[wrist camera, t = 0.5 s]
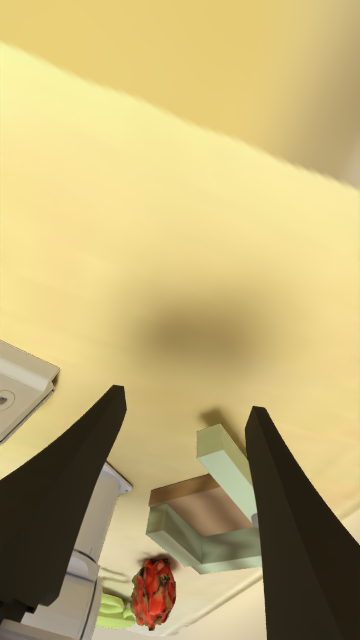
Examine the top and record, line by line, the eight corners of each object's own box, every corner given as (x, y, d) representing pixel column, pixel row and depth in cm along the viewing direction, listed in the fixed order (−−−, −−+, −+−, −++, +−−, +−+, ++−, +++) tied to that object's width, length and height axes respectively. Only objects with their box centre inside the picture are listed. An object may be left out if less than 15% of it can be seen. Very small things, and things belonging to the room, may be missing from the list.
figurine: (116, 561, 46) (105, 603, 40) (168, 607, 54) (165, 646, 49) (55, 567, 50) (38, 605, 45) (112, 608, 58) (104, 644, 53)
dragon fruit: (145, 561, 47) (166, 530, 44) (170, 604, 43) (195, 573, 40) (115, 603, 40) (138, 569, 37) (142, 660, 36) (170, 627, 33)
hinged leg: (270, 492, 26) (280, 527, 23) (249, 497, 27) (256, 532, 24) (220, 423, 22) (223, 454, 19) (196, 431, 23) (196, 463, 20)
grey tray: (195, 532, 37) (194, 575, 32) (151, 490, 33) (143, 532, 28) (293, 512, 32) (309, 560, 27) (256, 460, 28) (268, 505, 23)
